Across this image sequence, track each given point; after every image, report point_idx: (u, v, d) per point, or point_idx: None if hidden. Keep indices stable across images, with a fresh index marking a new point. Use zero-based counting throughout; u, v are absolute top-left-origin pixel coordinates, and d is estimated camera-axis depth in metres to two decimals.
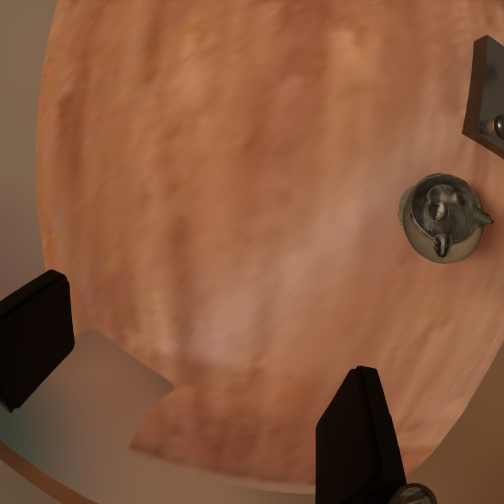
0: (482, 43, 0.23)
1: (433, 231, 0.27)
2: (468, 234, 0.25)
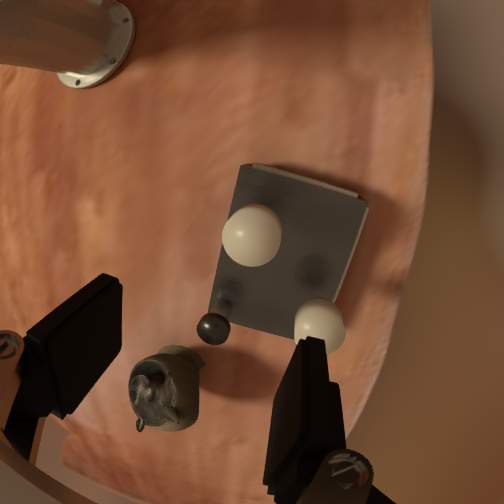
0: None
1: (134, 410, 0.31)
2: (159, 423, 0.29)
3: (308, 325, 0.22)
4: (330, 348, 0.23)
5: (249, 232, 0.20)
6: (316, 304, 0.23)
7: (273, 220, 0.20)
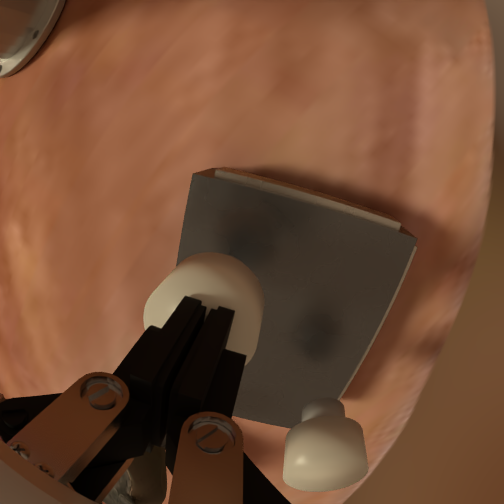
0: None
1: None
2: None
3: (307, 467, 0.10)
4: (340, 485, 0.11)
5: None
6: (323, 430, 0.11)
7: (242, 299, 0.09)
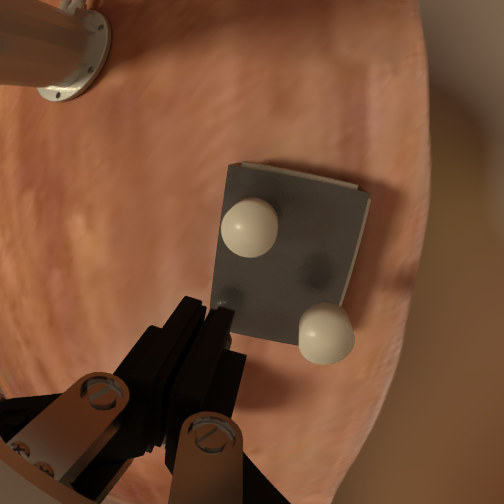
0: None
1: None
2: None
3: (313, 333, 0.20)
4: (339, 356, 0.20)
5: (247, 224, 0.21)
6: (320, 309, 0.21)
7: (268, 211, 0.21)
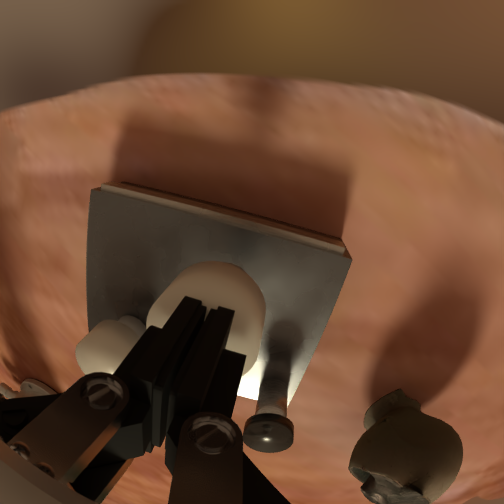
0: None
1: None
2: (424, 501, 0.13)
3: None
4: (236, 320, 0.09)
5: (96, 367, 0.15)
6: None
7: (80, 342, 0.15)
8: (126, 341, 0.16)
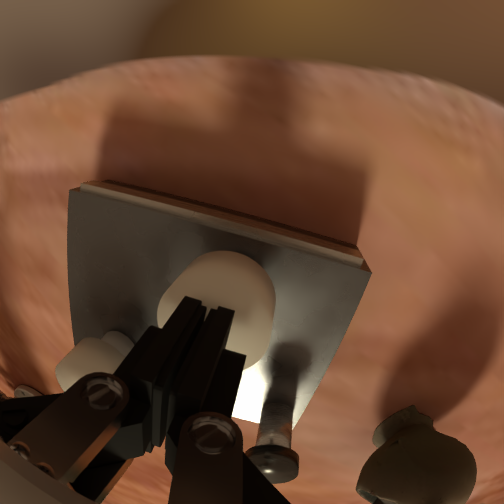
0: None
1: None
2: None
3: None
4: (247, 308, 0.09)
5: None
6: None
7: (59, 363, 0.13)
8: (109, 364, 0.13)
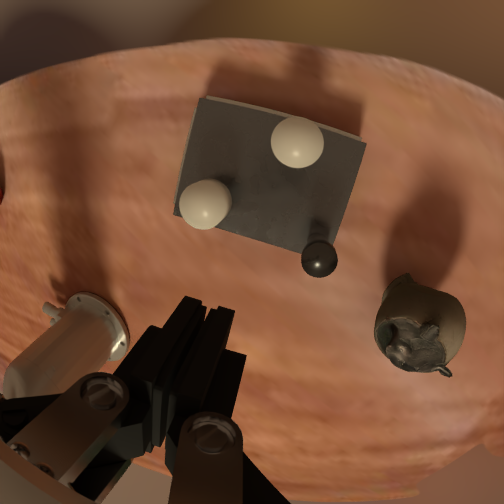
0: None
1: (427, 371, 0.25)
2: (441, 349, 0.22)
3: (284, 154, 0.22)
4: (314, 130, 0.21)
5: (196, 206, 0.25)
6: None
7: (187, 187, 0.24)
8: (222, 187, 0.25)
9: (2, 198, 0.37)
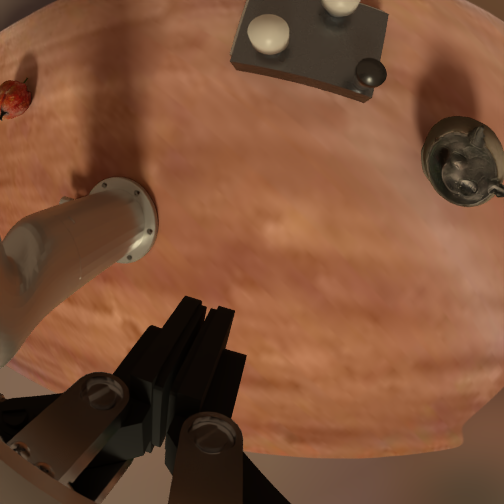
0: (242, 66, 0.30)
1: (484, 194, 0.24)
2: (491, 157, 0.21)
3: None
4: None
5: (263, 30, 0.23)
6: None
7: (254, 19, 0.23)
8: None
9: (30, 102, 0.35)
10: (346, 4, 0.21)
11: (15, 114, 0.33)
